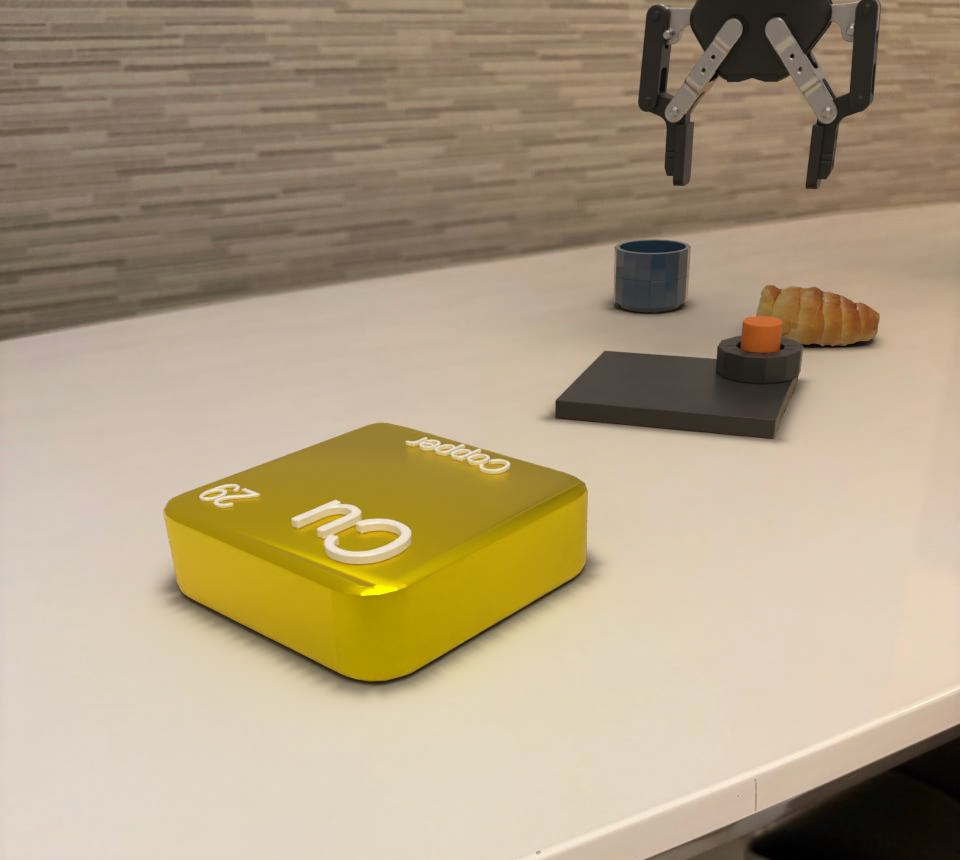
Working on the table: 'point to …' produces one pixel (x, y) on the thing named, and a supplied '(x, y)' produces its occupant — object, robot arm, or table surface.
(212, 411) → the table surface
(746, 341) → the button
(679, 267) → the blue cup
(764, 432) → the scale
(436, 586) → the element tile
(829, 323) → the pastry
